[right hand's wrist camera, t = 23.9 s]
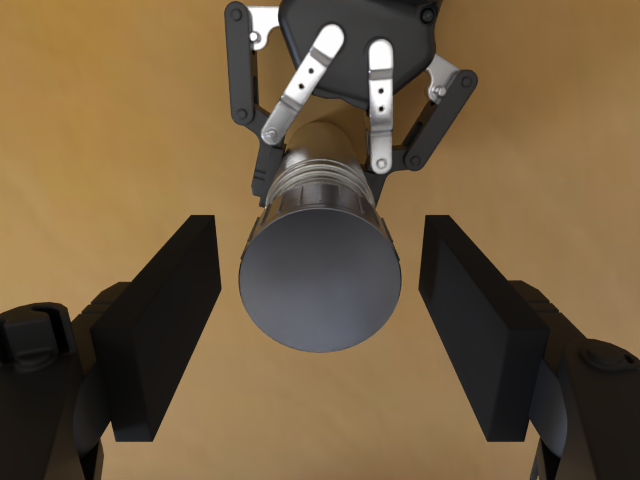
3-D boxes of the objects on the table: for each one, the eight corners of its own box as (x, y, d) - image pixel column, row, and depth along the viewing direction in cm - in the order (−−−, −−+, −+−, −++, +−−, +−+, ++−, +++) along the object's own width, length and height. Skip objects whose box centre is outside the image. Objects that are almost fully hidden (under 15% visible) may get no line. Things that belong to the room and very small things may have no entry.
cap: (221, 236, 14) (201, 270, 12) (335, 152, 13) (338, 169, 11) (307, 331, 16) (304, 379, 13) (415, 261, 15) (434, 299, 12)
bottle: (281, 127, 30) (224, 210, 12) (347, 116, 30) (389, 184, 12) (294, 191, 32) (260, 347, 14) (356, 180, 32) (405, 327, 14)
